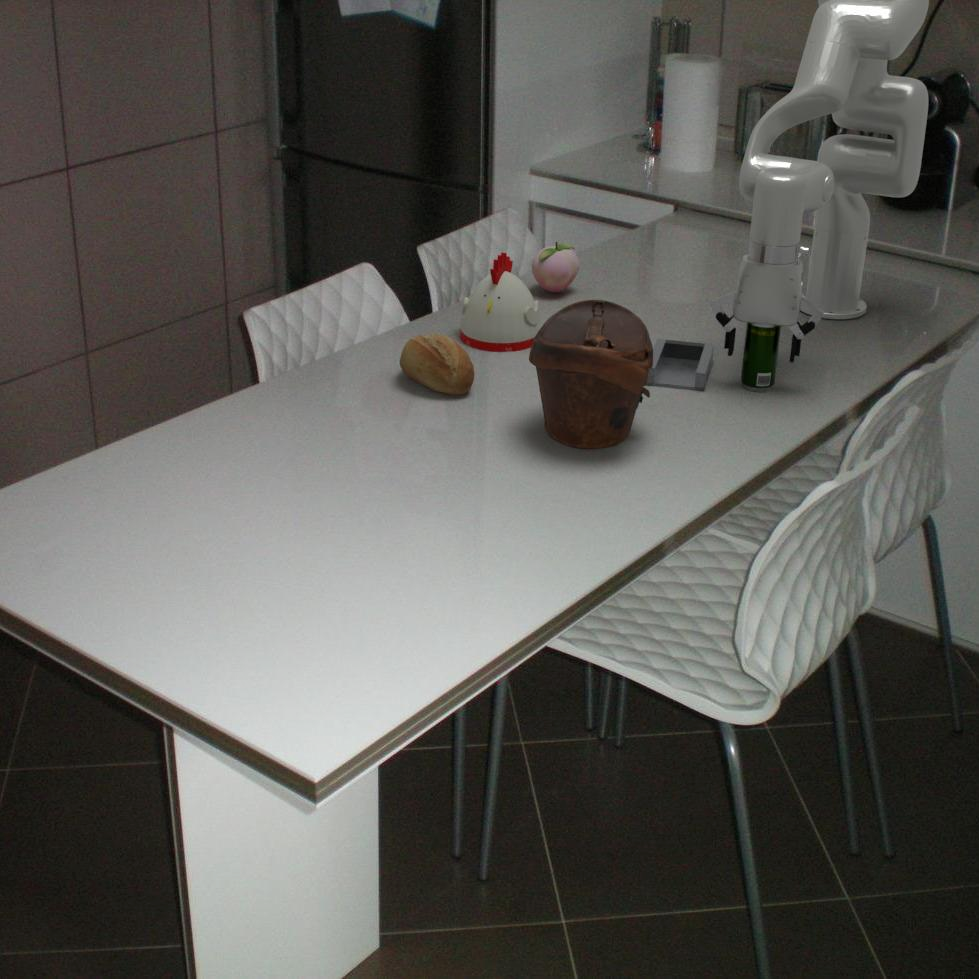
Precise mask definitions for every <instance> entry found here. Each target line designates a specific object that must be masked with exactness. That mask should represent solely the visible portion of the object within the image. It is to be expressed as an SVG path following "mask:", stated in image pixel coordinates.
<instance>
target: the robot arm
mask: <svg viewBox="0 0 979 979" xmlns="http://www.w3.org/2000/svg"><path fill="white" fill-rule="evenodd" d="M817 1H818V8H817V9H816V10H815V12H814V14H813V18H812V22H811V25H810V28H809V32H808V34H807V39H806V43H805V45H804V50H803V52H802V56H801V60H800V64H799V66H798V71H797V74H796V78H795V81H794V84H793V87H792V89H791V91H790V92H789V93H788V94H786V95H785V96H784V97H782V98H781V99H779V100H778V101H777V102H776V103H774V104H773V105H772V106H771V107H770V108H769V109H768V110H767V111H766V112H765V113H764V114H763V115H762V116H761V118H760V119H759V120H758V122H757V123H756V124H755V126H754V128H753V129H752V132H751V134H750V136H749V139H748V143H747V146H746V149H745V153H744V156H743V160H742V163H741V166H740V170H739V176H738V177H739V178H738V188H739V192H740V194H741V197H743V198H744V199H745V200H746V201H748V202H752V214H751V222H750V231H749V240H748V241H749V242H748V248H747V254H745V255H743V257H742V259H741V263H740V267H739V270H738V274H737V281H736V285H735V290H734V291H731V292H728V293H726V294H724V295H721V296H718V297H715V298H713V299H712V300H711V301H710V306H711V310H712V312H713V313H714V316H715V319H716V321H718V323H719V324H720V326H721V327H723V329H724V331H725V335H724V336H725V337H724V347H723V349H726V350H727V356H728V357H731V356H733V354H734V350H735V343H736V334H737V326H738V325H739V324H740V323H746V324H747V323H759V324H769V325H775V326H781V327H788V328H789V329H790V331H791V332H792V338H791V346H790V354H789V362H790V363H792V364H794V363H795V357H800V352H801V347H802V345H801V344H802V339H803V338H804V337H805V336H807V334H809V333H811V332H812V331H813V330H814V329H815V328H816V326H817V325H818V324H819V322H820V321H821V319H826V320H827V319H829V320H851V319H856V318H860V317H861V316H863V315H865V314H866V313H867V308H868V306H867V303H866V302H865V301H864V300H863V299H861V298H860V294H861V288H862V280H863V274H864V268H865V266H864V265H865V262H866V252H867V246H868V239H869V232H870V225H871V213H870V209H869V207H868V205H867V202H866V201H865V199H864V196H863V194H869V195H873V196H874V195H875V196H882V197H890V198H905V197H908V196H910V195H911V194H912V193H913V192H914V191H915V189H916V187H917V185H918V181H919V177H920V173H921V168H922V159H923V151H924V144H925V137H926V136H925V135H926V128H927V122H928V121H927V120H928V112H929V92H928V89H927V86H926V85H925V84H924V82H922V81H921V80H919V79H918V78H917V79H916V78H914V77H908V76H901V75H899V76H897V75H890V74H889V73H888V71H887V70H888V67H887V66H888V61H893V60H895V59H897V58H898V57H900V56H901V55H902V54H903V53H904V52H905V50H906V49H907V47H908V46H909V44H910V43H911V42H912V40H913V39H914V38H915V36H916V35H917V34H918V32H919V31H920V29H921V27H922V26H923V24H924V22H925V19H926V16H927V13H928V10H929V3H930V0H817ZM828 115H831V117H832V120H833V122H834V124H835V125H837V126H838V127H840V128H842V129H846V130H847V129H848V130H852V131H860V132H866V133H867V132H868V133H875V134H885V135H890V136H891V137H892V139H889V138H888V139H887V138H880V137H876V136H869V135H868V136H867V135H859V134H848V133H845V134H836V135H832V136H830V137H828V138H827V139H825V140H824V141H823V142H822V144H821V145H820V147H819V149H818V154H817V160H812V159H811V160H810V159H805V158H804V159H803V158H797V157H791V156H784V155H776V154H775V155H774V154H770V153H769V152H770V149H771V147H772V145H773V143H774V142H775V141H776V139H777V138H779V137H780V135H782V134H783V133H785V132H786V131H787V130H789V129H791V128H793V127H795V126H798V125H801V124H802V123H806V122H809V121H812V120H815V119H818V118H821V117H825V116H828ZM814 211H816V213H815V220H814V228H813V236H812V245H811V253H810V260H809V270H808V277H807V284H806V292H804V293H803V286H804V285H803V284H804V282H803V281H804V271H803V270H804V268H803V260H801V259H800V257H803V256H805V257H808V255H809V246H804V245H802V243H800V242H801V236H802V235H801V234H802V226H803V225H802V224H803V217H804V215H803V214H805V213H811V212H814ZM731 303H733V307H732V308H733V309H732V312H733V313H732V315H731V316H728V315H727V314H726V312H725V311H724V310H723V306H725V305H728V304H731ZM801 312H803V313H804V314H806V315H810V316H811V317H810V319H808V320H807V321H806V322H804V323H803V324H802V323H801V321H800V320H799V318H800V313H801Z"/></svg>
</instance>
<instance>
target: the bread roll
mask: <svg viewBox="0 0 979 979" xmlns="http://www.w3.org/2000/svg"><path fill="white" fill-rule="evenodd" d="M402 348H403V349H402V352H401V354H400V358H399V366H400V369H401V370H402V372H403V373H404V374H405V376H407V377H408V378H410V379H412V380H414V381H416V382H418V383H419V384H422V385H424V386H425V387H427V388H429V389H431V390H433V391H436V392H439V393H442V394H447V395H463V394H466V393H468V392H470V390H471V388H472V386H473V383H474V381H475V370H474V364H473V362H472V360H471V358H470V355H469V354H468V352H467V351H466V350H465V349H464V348H463V346H462V345H460V344H459V343H458V342H457V341H456V340H454V339H452V338H451V337H449V336H447V335H446V334H437V333H436V334H435V333H434V334H433V333H431V334H430V333H428V334H425V335H424V334H423V335H420V334H419V335H416V336H413V337H412V338H409V339H408V340H407V342H405V344H404V346H403V347H402Z"/></svg>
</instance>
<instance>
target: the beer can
mask: <svg viewBox="0 0 979 979" xmlns="http://www.w3.org/2000/svg"><path fill="white" fill-rule="evenodd" d="M781 331H782V326H775V325H769V324H759V323H747V322H746V325H745V334H744V335H745V336H744V344H743V346H744V347H743V351H742V352H743V354H742V364H741V372H740V384H741V387H743V389H746V390H747V391H750V392H755V393H756V392H757V393H758V392H759V393H764V392H769V391H771V390H772V388H774V385H775V381H776V374H777V367H778V366H777V364H778V358H779V357H778V356H779V346H780V341H781V340H780V339H781Z"/></svg>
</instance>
